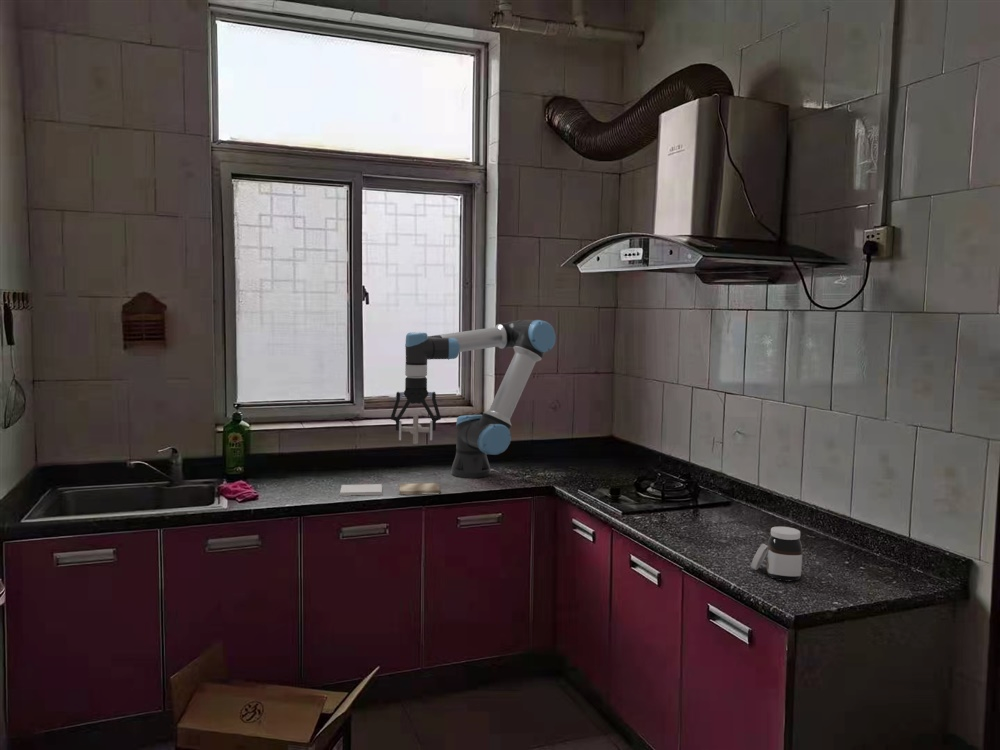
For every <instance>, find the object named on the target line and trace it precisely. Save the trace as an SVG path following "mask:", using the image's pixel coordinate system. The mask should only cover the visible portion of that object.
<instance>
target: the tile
mask: <svg viewBox="0 0 1000 750" xmlns="http://www.w3.org/2000/svg"><path fill="white" fill-rule="evenodd" d="M340 487H341V488H340V491H339V496H340V497H352V496H351V495H365V496H383V495H382V494H383V484H382V483H380V484H379V483H376V484H375V483H374V484H341V486H340Z"/></svg>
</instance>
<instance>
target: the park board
mask: <svg viewBox="0 0 1000 750" xmlns="http://www.w3.org/2000/svg"><path fill="white" fill-rule="evenodd" d="M422 493H440V494H441V488H440V484H439V483H438V482H436V483H435V482H434V483H433V482H431V483H430V482H428V483H427V482H425V483H424V482H423V483H399V484H398V494H399V496H400V495H401V496H402V495H403V494H414V495H423V494H422ZM403 496H404V495H403Z"/></svg>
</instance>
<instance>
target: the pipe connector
mask: <svg viewBox="0 0 1000 750" xmlns="http://www.w3.org/2000/svg"><path fill="white" fill-rule="evenodd" d="M412 416H413V417H412V420H413V421H412V426H406V425H404V426H402V425H401V432H410V434H411V435H412V444H414V445H418V444H419V433H429V434H430V427H429V426H428V427H427V426H425V427H424V426H422V424H419V414H413V415H412Z"/></svg>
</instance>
